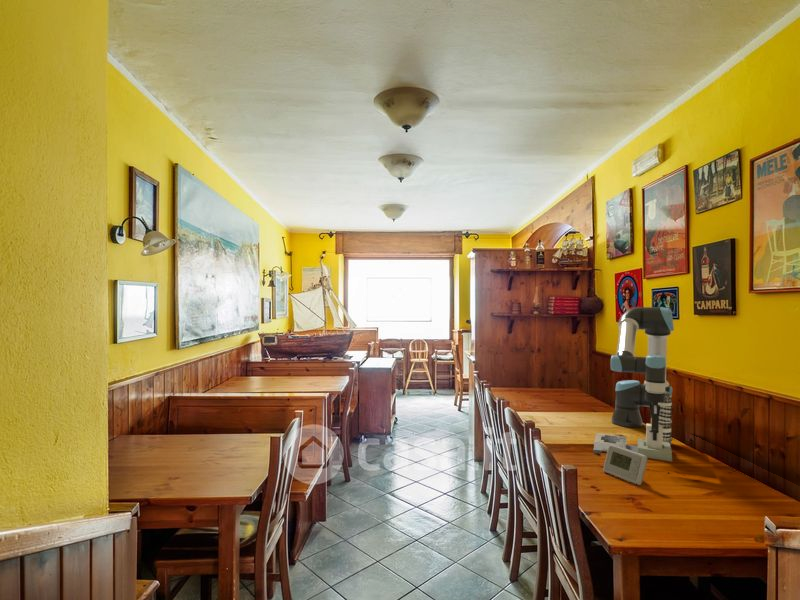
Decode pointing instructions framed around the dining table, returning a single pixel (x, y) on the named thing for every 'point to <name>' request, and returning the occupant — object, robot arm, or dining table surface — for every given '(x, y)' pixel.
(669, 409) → the decorative candle
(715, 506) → the dining table surface
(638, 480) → the digital clock
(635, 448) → the board
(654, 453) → the grey-green cross cutout frame
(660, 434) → the plug
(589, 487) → the dining table surface
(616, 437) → the socket
